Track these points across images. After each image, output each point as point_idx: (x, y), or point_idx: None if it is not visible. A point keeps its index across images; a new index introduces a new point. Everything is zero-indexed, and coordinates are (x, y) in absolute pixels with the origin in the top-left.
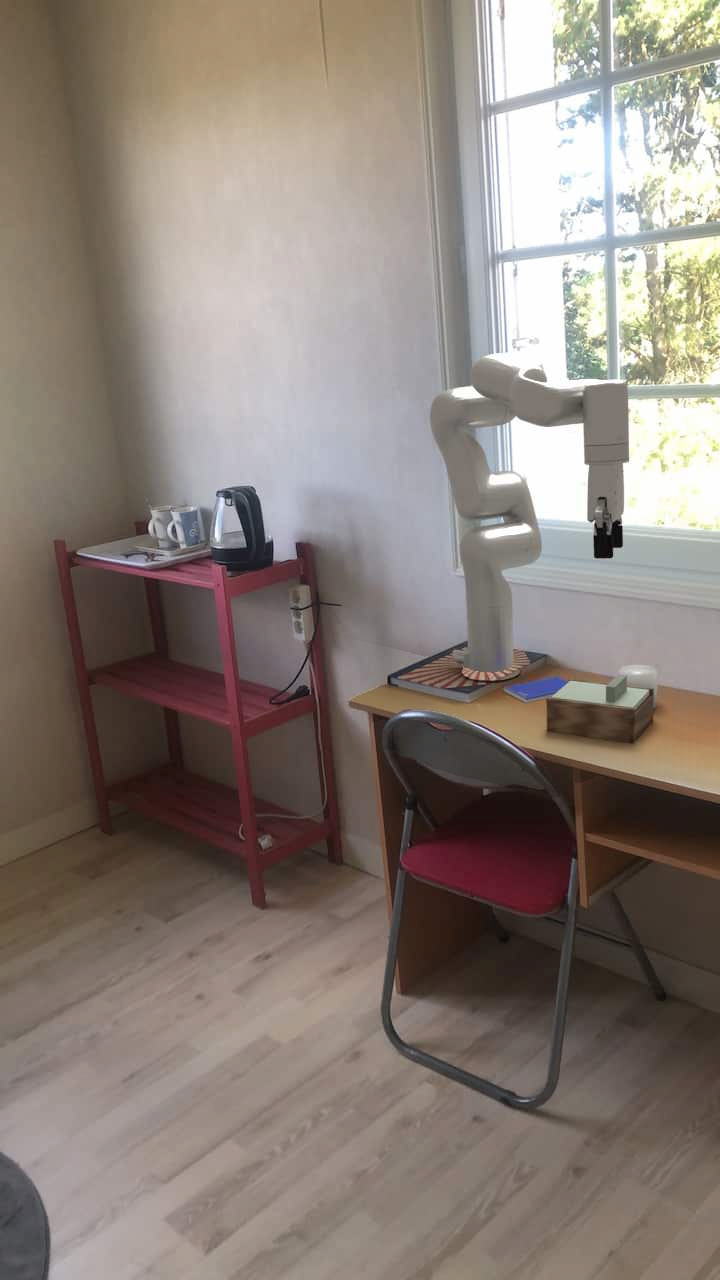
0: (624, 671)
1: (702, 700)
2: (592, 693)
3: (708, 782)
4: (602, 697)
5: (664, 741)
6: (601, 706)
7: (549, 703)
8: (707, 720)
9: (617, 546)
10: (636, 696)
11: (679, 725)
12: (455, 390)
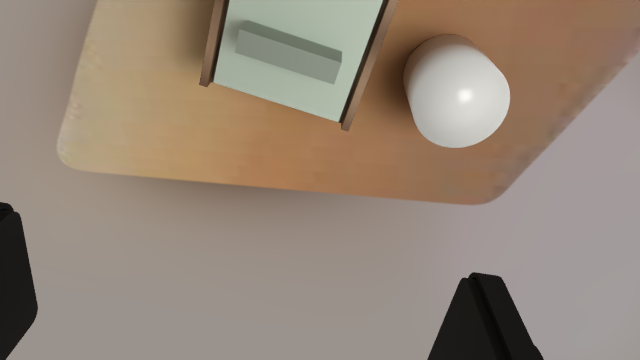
0: (454, 71)
1: (459, 193)
2: None
3: (80, 169)
4: (274, 11)
5: (239, 117)
6: (214, 8)
7: None
8: (352, 192)
9: (433, 352)
10: (289, 92)
11: (324, 146)
12: None
